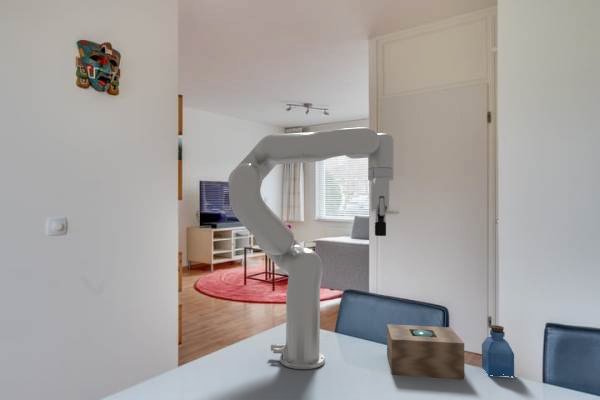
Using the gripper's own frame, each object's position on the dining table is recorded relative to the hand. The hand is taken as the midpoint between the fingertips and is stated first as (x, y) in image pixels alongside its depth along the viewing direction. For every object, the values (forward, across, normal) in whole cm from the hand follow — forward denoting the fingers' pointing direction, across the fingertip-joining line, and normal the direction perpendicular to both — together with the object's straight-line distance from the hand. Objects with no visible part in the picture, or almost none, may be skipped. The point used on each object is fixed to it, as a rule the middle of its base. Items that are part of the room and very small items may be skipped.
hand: (380, 235), depth 117 cm
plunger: (+35, +8, +11) cm, 37 cm away
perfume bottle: (+35, +9, +30) cm, 47 cm away
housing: (+35, +8, +11) cm, 38 cm away
